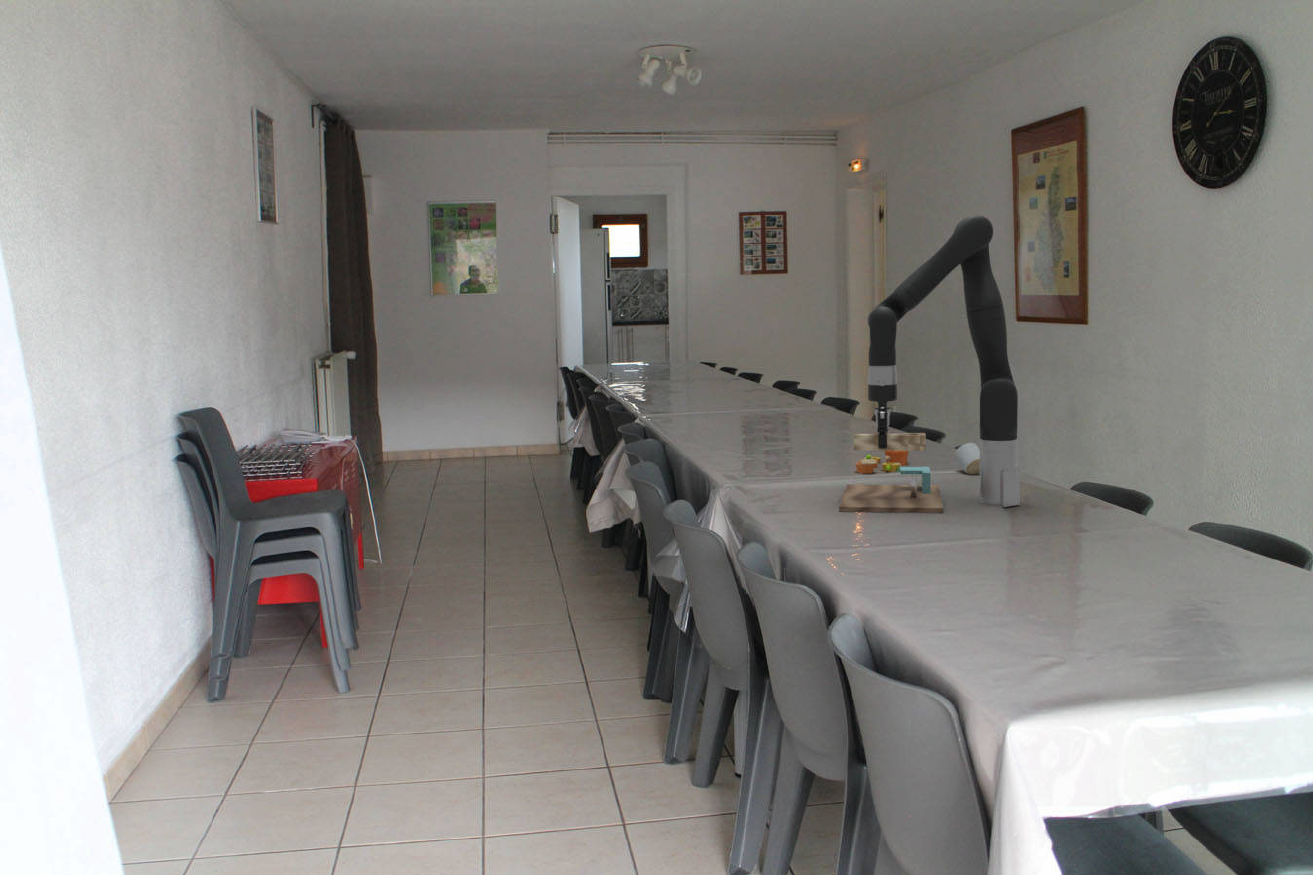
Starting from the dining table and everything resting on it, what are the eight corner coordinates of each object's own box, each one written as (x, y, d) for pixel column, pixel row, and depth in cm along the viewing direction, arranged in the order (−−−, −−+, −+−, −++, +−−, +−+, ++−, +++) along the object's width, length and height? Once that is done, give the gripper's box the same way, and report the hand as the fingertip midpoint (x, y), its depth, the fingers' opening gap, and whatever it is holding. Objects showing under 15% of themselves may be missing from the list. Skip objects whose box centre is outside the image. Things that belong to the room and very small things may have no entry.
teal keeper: (929, 486, 290) (929, 466, 289) (930, 493, 279) (930, 472, 278) (900, 486, 292) (900, 466, 291) (900, 493, 281) (900, 472, 280)
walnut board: (938, 489, 292) (938, 485, 292) (943, 512, 257) (943, 508, 257) (847, 488, 298) (847, 484, 298) (839, 511, 263) (839, 506, 263)
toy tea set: (862, 467, 343) (862, 438, 342) (910, 467, 337) (910, 438, 336) (849, 478, 318) (849, 447, 317) (901, 479, 313) (900, 448, 312)
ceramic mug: (968, 481, 314) (965, 464, 309) (956, 464, 320) (953, 447, 315) (1000, 468, 314) (998, 450, 309) (987, 451, 320) (985, 434, 315)
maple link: (925, 447, 275) (925, 432, 274) (925, 450, 269) (925, 435, 268) (854, 448, 279) (854, 433, 278) (853, 450, 273) (853, 435, 273)
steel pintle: (916, 496, 275) (916, 474, 274) (916, 497, 273) (916, 475, 272) (910, 496, 275) (910, 474, 274) (910, 497, 273) (910, 475, 273)
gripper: (868, 381, 280) (869, 444, 282) (867, 384, 266) (867, 450, 268) (896, 380, 278) (897, 444, 280) (897, 384, 265) (897, 450, 266)
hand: (882, 446), depth 274 cm, fingers closed on maple link, 4 cm apart
